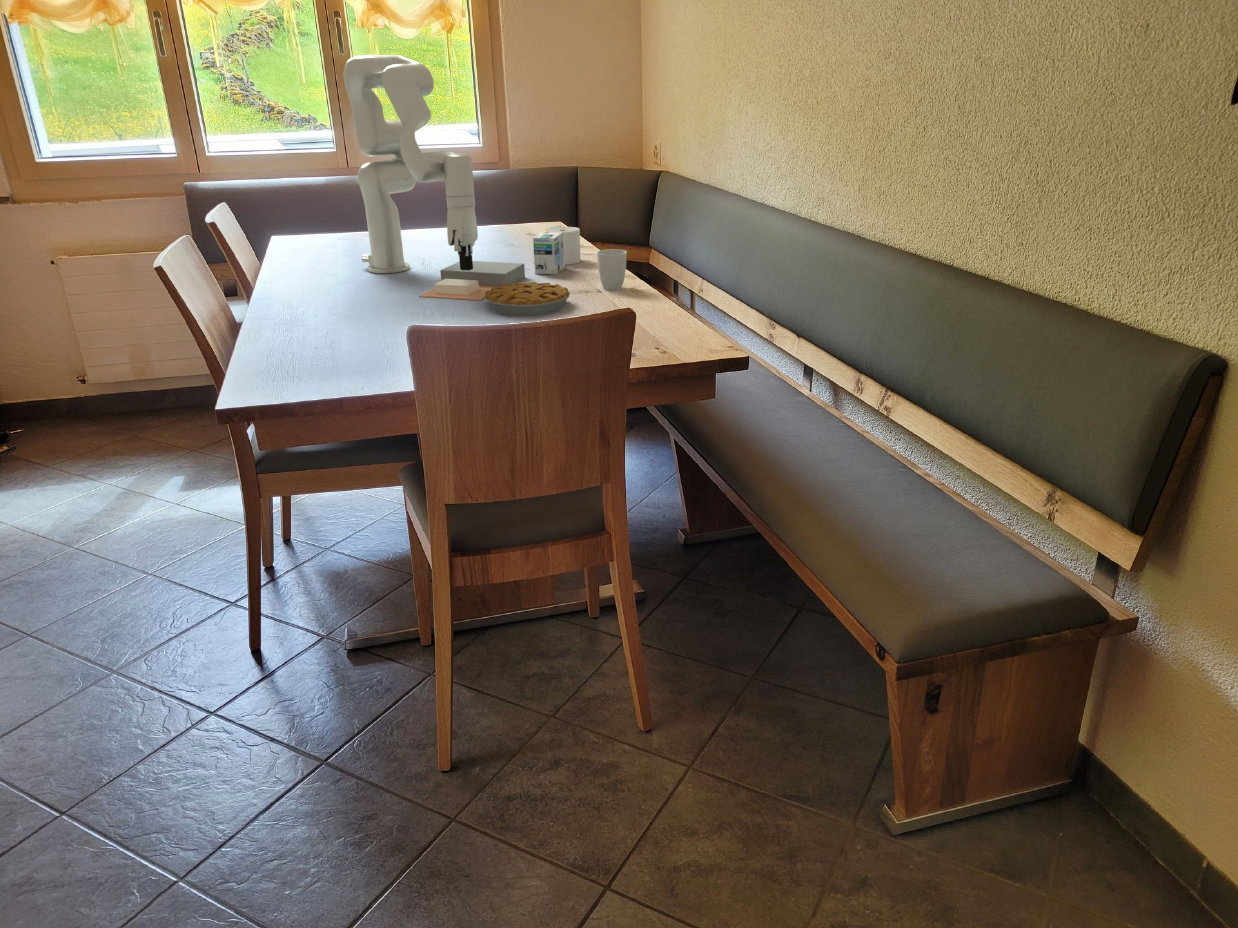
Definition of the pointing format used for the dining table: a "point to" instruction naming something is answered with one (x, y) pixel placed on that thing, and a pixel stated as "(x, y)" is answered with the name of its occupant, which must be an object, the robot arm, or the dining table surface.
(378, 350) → the dining table surface
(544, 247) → the light bulb box
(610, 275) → the cup
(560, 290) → the pie
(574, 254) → the toilet tissue
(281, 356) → the dining table surface
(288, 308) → the dining table surface
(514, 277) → the grey flat slab
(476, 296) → the mat
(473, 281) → the cream rectangular block
